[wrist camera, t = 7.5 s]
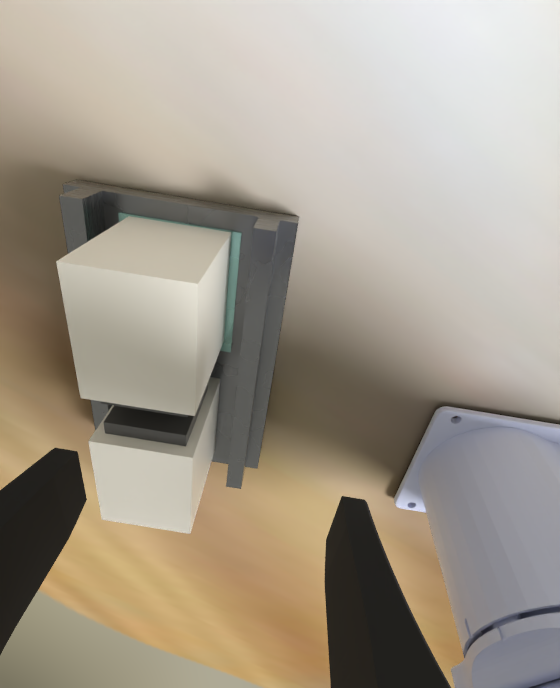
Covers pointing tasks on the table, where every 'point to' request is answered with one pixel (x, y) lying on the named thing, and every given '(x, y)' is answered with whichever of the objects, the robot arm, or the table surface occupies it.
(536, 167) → the table surface
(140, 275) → the white cardboard box
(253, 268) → the sliding window
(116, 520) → the white and grey block
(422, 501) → the robot arm
